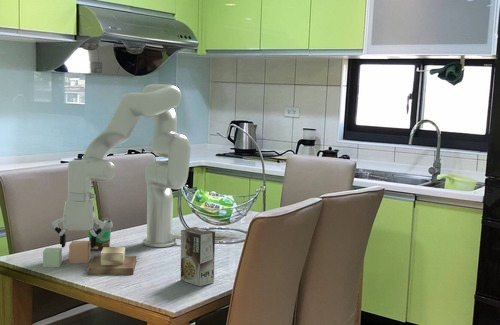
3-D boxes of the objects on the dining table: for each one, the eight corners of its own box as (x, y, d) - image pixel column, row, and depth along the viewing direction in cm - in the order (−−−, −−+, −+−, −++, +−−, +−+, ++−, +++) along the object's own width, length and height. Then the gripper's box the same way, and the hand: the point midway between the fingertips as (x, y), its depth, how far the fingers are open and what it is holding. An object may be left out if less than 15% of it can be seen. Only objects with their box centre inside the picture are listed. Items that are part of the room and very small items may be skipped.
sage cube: (61, 262, 202) (61, 247, 202) (58, 266, 198) (58, 251, 197) (46, 262, 202) (46, 247, 201) (43, 266, 197) (42, 251, 196)
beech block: (124, 258, 202) (125, 247, 201) (123, 265, 195) (123, 252, 194) (103, 258, 201) (103, 247, 200) (100, 265, 194) (100, 252, 194)
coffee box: (214, 282, 187) (216, 231, 185) (199, 287, 182) (200, 234, 180) (194, 275, 193) (195, 226, 191) (179, 280, 188) (180, 229, 186)
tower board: (136, 261, 206) (136, 255, 206) (133, 274, 192) (133, 268, 192) (94, 261, 204) (94, 255, 204) (87, 274, 190) (87, 268, 190)
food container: (104, 253, 214) (104, 225, 213) (87, 251, 216) (87, 224, 214) (118, 244, 226) (118, 218, 225) (103, 243, 228) (103, 217, 226)
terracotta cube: (90, 257, 209) (90, 240, 208) (87, 262, 203) (87, 245, 202) (72, 257, 208) (72, 240, 207) (69, 262, 202) (69, 245, 202)
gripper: (107, 196, 207) (105, 244, 209) (54, 194, 205) (54, 243, 207) (104, 199, 200) (102, 250, 202) (50, 198, 198) (49, 249, 200)
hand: (78, 246), depth 205 cm, fingers open, 9 cm apart
